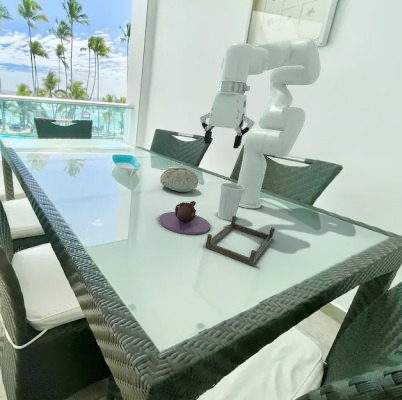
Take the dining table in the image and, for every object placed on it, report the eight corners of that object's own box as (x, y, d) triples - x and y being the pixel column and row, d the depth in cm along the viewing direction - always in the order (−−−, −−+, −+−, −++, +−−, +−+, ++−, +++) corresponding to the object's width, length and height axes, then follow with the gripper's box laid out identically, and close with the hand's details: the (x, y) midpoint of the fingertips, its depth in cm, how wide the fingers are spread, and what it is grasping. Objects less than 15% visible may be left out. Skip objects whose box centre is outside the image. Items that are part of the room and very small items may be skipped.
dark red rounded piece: (193, 213, 83) (205, 204, 95) (171, 202, 85) (186, 194, 98) (183, 232, 85) (197, 221, 98) (163, 220, 88) (179, 211, 101)
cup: (241, 217, 102) (248, 187, 98) (232, 223, 96) (239, 190, 92) (220, 211, 107) (227, 181, 103) (211, 215, 101) (217, 185, 97)
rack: (230, 226, 94) (233, 215, 92) (272, 239, 86) (275, 228, 85) (204, 247, 78) (207, 234, 77) (252, 266, 70) (255, 252, 69)
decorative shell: (170, 196, 120) (173, 174, 117) (152, 184, 135) (155, 164, 132) (204, 194, 126) (207, 173, 123) (183, 183, 142) (186, 164, 139)
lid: (175, 210, 104) (175, 208, 104) (217, 224, 94) (218, 222, 94) (149, 222, 92) (149, 220, 91) (195, 240, 82) (195, 237, 81)
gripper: (264, 91, 81) (251, 149, 87) (210, 89, 91) (201, 141, 97) (257, 89, 76) (244, 151, 81) (200, 87, 86) (191, 142, 91)
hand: (221, 145), depth 89 cm, fingers open, 9 cm apart
